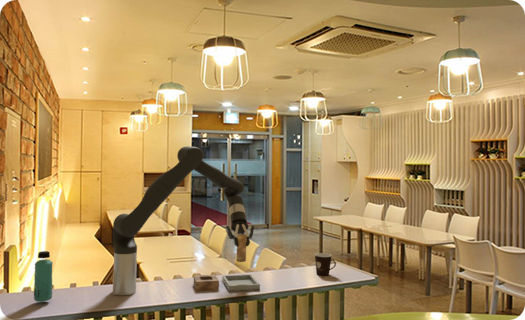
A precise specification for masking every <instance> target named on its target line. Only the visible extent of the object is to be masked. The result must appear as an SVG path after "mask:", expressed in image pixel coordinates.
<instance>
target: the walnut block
mask: <svg viewBox="0 0 525 320" xmlns="http://www.w3.org/2000/svg"><path fill="white" fill-rule="evenodd" d="M193 287H194V290H195V291H196V292H202V291H219V289H220V288H219V287H220V280H219V279H218V277H217V274H203V275H202V274H198V275H193Z"/></svg>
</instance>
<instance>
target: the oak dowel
mask: <svg viewBox="0 0 525 320" xmlns="http://www.w3.org/2000/svg"><path fill="white" fill-rule="evenodd" d="M237 238H238V247H236V262H238V263H246V261H247V246H246V240H247V235H246V234H237Z"/></svg>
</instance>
